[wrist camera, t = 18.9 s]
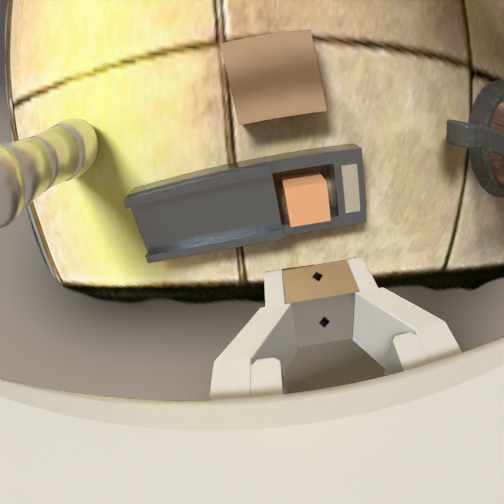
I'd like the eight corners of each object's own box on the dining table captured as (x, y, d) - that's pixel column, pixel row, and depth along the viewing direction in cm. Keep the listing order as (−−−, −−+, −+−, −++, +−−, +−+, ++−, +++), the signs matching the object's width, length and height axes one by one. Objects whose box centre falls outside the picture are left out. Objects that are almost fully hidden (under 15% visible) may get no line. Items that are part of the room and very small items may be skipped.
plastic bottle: (109, 118, 27) (-37, 172, 9) (101, 176, 30) (-20, 273, 13) (63, 113, 26) (-77, 164, 8) (59, 167, 29) (-63, 249, 12)
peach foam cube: (284, 188, 27) (326, 181, 26) (281, 176, 30) (318, 170, 30) (290, 227, 29) (330, 220, 28) (286, 211, 32) (322, 205, 32)
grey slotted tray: (135, 187, 31) (122, 198, 28) (353, 143, 28) (364, 149, 25) (157, 249, 35) (148, 264, 32) (359, 212, 32) (369, 226, 29)
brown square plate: (223, 48, 23) (219, 43, 21) (304, 35, 22) (310, 29, 20) (240, 122, 27) (239, 125, 25) (320, 109, 26) (326, 111, 24)
